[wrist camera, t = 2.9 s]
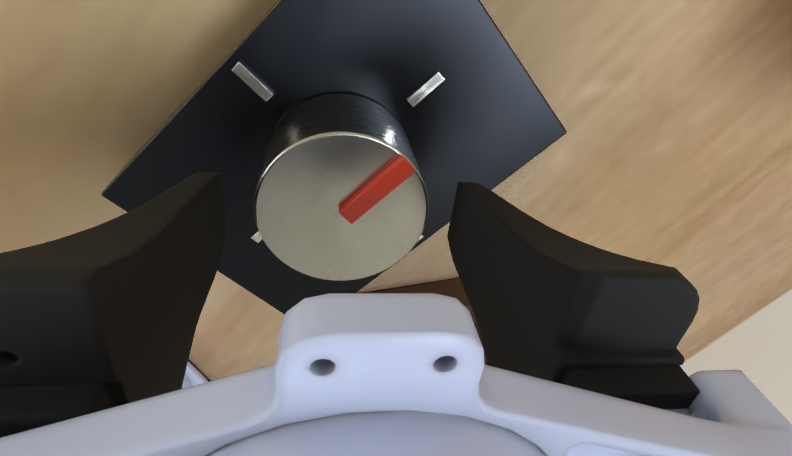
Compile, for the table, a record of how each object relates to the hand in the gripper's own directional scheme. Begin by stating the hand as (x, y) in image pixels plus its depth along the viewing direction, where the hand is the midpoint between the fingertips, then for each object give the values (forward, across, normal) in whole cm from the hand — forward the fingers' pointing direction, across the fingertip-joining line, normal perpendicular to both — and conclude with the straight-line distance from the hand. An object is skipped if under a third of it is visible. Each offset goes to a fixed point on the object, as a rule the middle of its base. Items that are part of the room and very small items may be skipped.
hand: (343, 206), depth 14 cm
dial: (+3, 0, 0) cm, 3 cm away
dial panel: (+6, 0, 0) cm, 6 cm away
